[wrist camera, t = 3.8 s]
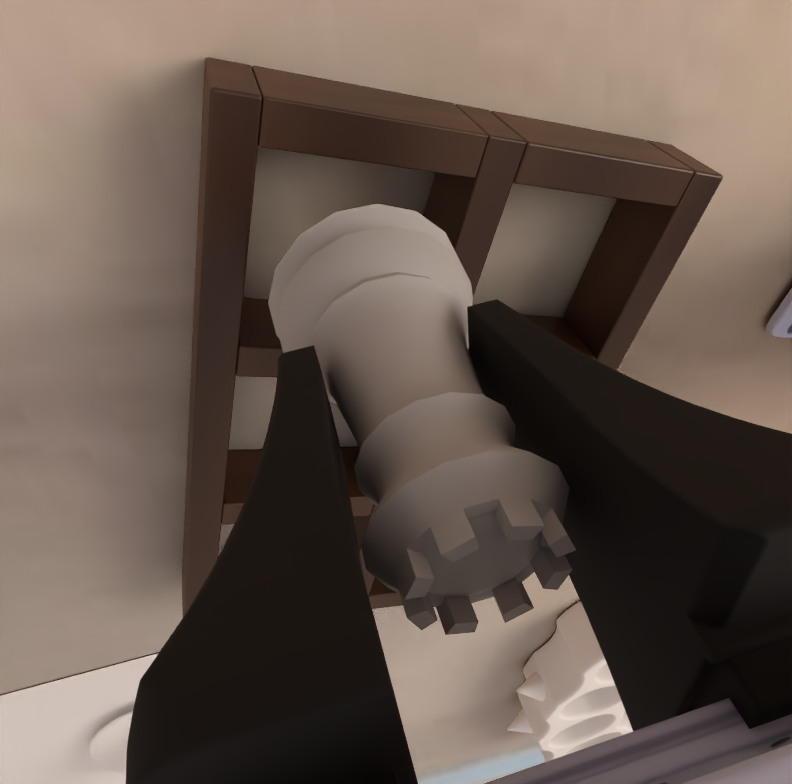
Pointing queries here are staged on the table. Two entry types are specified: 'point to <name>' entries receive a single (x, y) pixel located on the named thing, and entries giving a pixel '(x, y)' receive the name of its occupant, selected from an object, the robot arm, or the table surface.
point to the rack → (447, 208)
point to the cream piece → (70, 727)
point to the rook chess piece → (421, 417)
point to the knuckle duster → (570, 691)
